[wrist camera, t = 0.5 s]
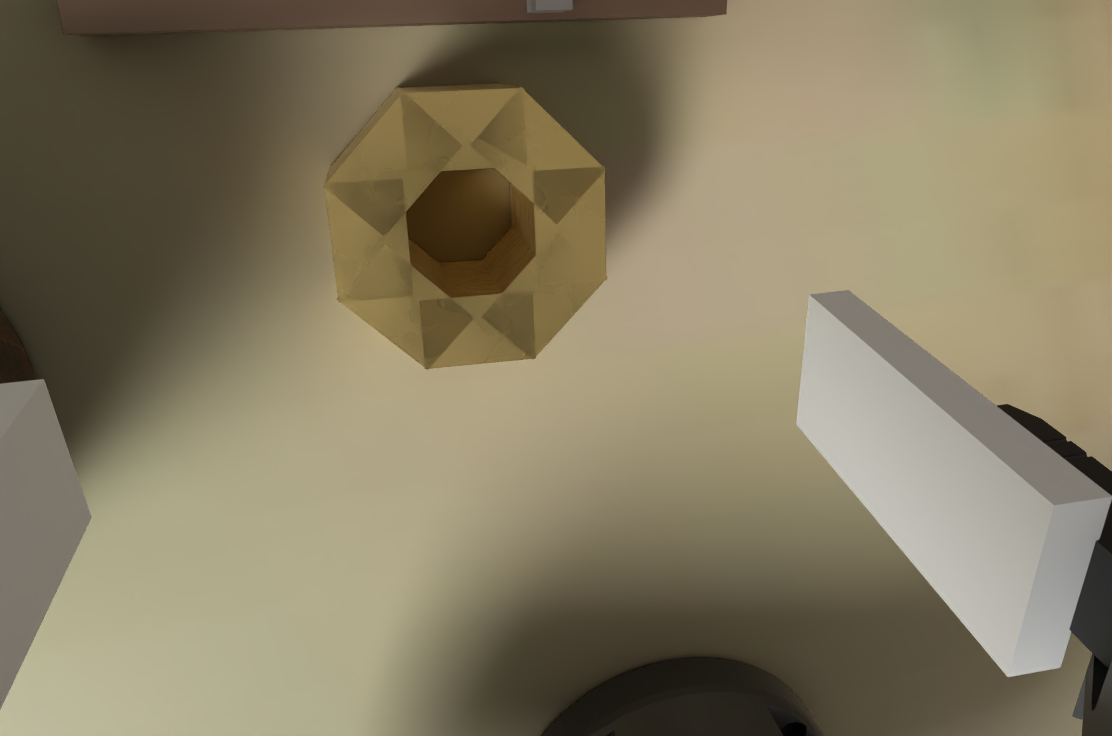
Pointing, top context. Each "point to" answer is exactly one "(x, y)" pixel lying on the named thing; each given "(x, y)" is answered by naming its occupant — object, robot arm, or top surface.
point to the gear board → (350, 13)
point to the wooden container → (12, 355)
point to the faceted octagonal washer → (513, 263)
